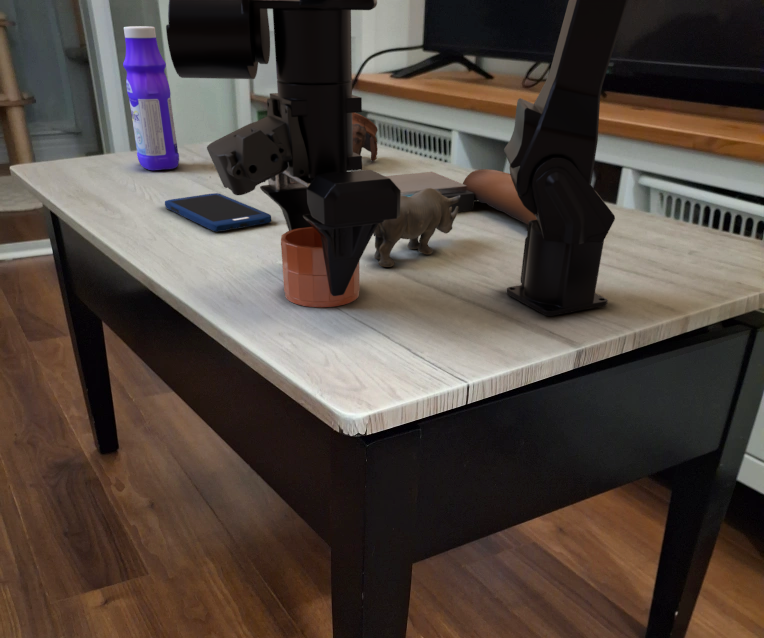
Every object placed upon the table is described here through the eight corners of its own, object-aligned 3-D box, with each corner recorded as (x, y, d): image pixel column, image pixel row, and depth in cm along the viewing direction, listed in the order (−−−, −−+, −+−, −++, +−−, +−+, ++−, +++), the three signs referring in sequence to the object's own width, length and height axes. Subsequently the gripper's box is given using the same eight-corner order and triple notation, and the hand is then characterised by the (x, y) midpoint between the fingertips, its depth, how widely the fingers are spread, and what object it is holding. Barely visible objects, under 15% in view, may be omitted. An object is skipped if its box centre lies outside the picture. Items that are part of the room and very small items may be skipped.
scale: (473, 210, 93) (475, 185, 91) (336, 226, 86) (336, 200, 84) (433, 192, 100) (434, 169, 98) (304, 206, 93) (303, 182, 92)
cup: (371, 300, 67) (371, 242, 64) (300, 312, 64) (297, 251, 61) (341, 278, 71) (340, 223, 69) (274, 288, 69) (270, 231, 66)
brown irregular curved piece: (300, 164, 116) (316, 109, 115) (353, 190, 121) (370, 137, 120) (327, 156, 106) (346, 95, 105) (385, 184, 111) (404, 127, 109)
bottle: (135, 164, 113) (112, 25, 103) (173, 161, 115) (155, 24, 105) (144, 173, 108) (121, 28, 98) (184, 170, 110) (166, 27, 100)
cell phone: (215, 232, 83) (215, 225, 83) (162, 206, 92) (161, 200, 92) (274, 222, 87) (273, 215, 86) (217, 198, 96) (217, 192, 95)
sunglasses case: (601, 227, 85) (584, 174, 80) (551, 265, 85) (531, 214, 80) (517, 192, 98) (498, 145, 94) (473, 225, 98) (452, 180, 94)
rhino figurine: (473, 241, 82) (478, 181, 78) (390, 270, 73) (391, 205, 70) (442, 233, 84) (446, 175, 81) (359, 262, 76) (358, 198, 72)
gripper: (179, 72, 62) (203, 264, 71) (251, 101, 48) (269, 334, 57) (307, 67, 66) (314, 250, 75) (406, 93, 53) (401, 312, 61)
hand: (321, 282), depth 67 cm, fingers closed on cup, 6 cm apart
